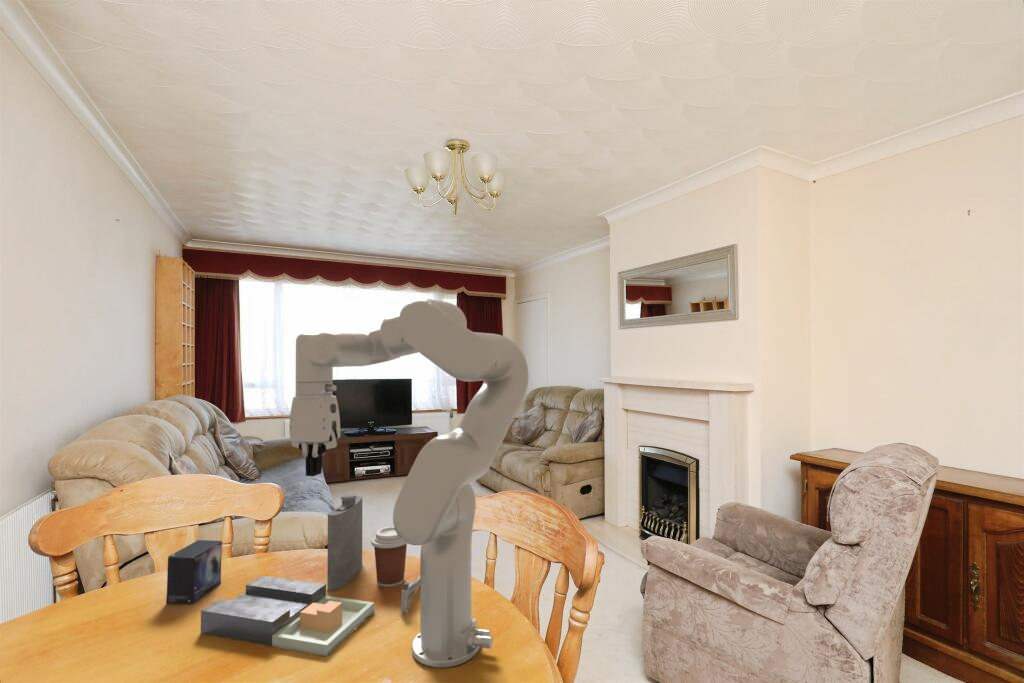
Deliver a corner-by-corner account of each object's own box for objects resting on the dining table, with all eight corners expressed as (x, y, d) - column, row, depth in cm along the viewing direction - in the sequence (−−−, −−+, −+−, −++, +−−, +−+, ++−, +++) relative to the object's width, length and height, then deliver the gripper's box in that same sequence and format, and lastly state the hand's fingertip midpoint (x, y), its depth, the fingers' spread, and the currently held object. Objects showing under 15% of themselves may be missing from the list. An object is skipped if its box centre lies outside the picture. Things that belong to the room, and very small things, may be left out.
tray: (374, 612, 104) (374, 602, 104) (327, 656, 89) (327, 645, 89) (325, 604, 108) (325, 595, 108) (272, 646, 92) (272, 635, 92)
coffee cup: (363, 587, 116) (364, 536, 116) (382, 571, 124) (382, 523, 125) (399, 591, 113) (399, 539, 114) (415, 574, 122) (415, 526, 123)
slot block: (325, 604, 108) (325, 584, 108) (272, 646, 92) (272, 622, 92) (262, 595, 112) (262, 575, 112) (200, 633, 97) (200, 610, 97)
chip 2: (329, 620, 100) (342, 622, 99) (316, 631, 96) (329, 633, 96) (329, 600, 100) (342, 602, 99) (316, 610, 96) (329, 612, 96)
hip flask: (352, 562, 130) (352, 486, 131) (367, 562, 130) (367, 486, 131) (325, 590, 114) (325, 504, 115) (341, 591, 114) (342, 504, 115)
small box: (193, 605, 108) (194, 557, 108) (164, 605, 108) (165, 557, 109) (223, 583, 119) (223, 539, 119) (196, 583, 119) (197, 539, 119)
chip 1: (329, 620, 100) (329, 605, 100) (316, 630, 97) (316, 615, 97) (313, 617, 101) (313, 602, 102) (299, 627, 98) (300, 612, 98)
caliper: (406, 617, 103) (406, 587, 103) (400, 617, 103) (400, 586, 103) (429, 574, 123) (429, 549, 123) (425, 574, 123) (425, 549, 123)
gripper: (354, 389, 108) (354, 472, 108) (297, 388, 112) (296, 469, 112) (333, 391, 101) (332, 481, 100) (273, 390, 105) (272, 476, 104)
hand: (313, 474), depth 106 cm, fingers closed
